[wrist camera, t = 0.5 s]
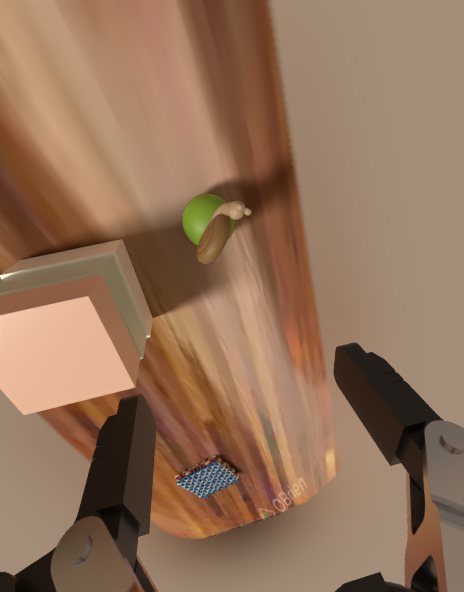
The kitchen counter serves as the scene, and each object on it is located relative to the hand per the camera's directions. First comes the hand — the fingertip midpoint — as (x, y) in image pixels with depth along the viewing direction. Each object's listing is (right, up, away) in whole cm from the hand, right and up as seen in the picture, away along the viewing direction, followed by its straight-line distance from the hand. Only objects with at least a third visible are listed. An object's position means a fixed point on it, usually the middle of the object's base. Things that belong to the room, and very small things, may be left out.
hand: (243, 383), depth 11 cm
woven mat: (-6, -34, +46) cm, 57 cm away
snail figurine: (-3, +13, +19) cm, 23 cm away
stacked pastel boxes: (-17, +4, +21) cm, 27 cm away
